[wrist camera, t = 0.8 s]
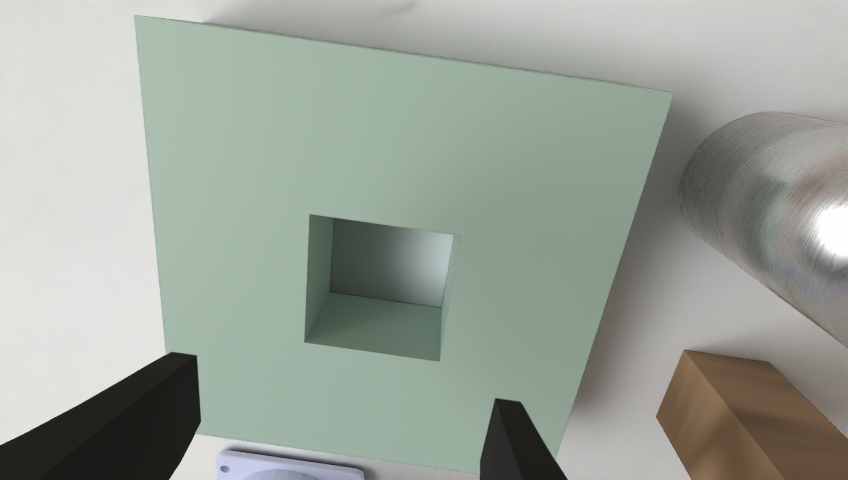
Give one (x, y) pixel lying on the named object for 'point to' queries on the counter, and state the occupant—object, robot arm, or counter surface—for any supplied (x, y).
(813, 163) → the steel peg
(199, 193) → the socket block
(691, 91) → the counter surface
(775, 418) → the walnut peg
